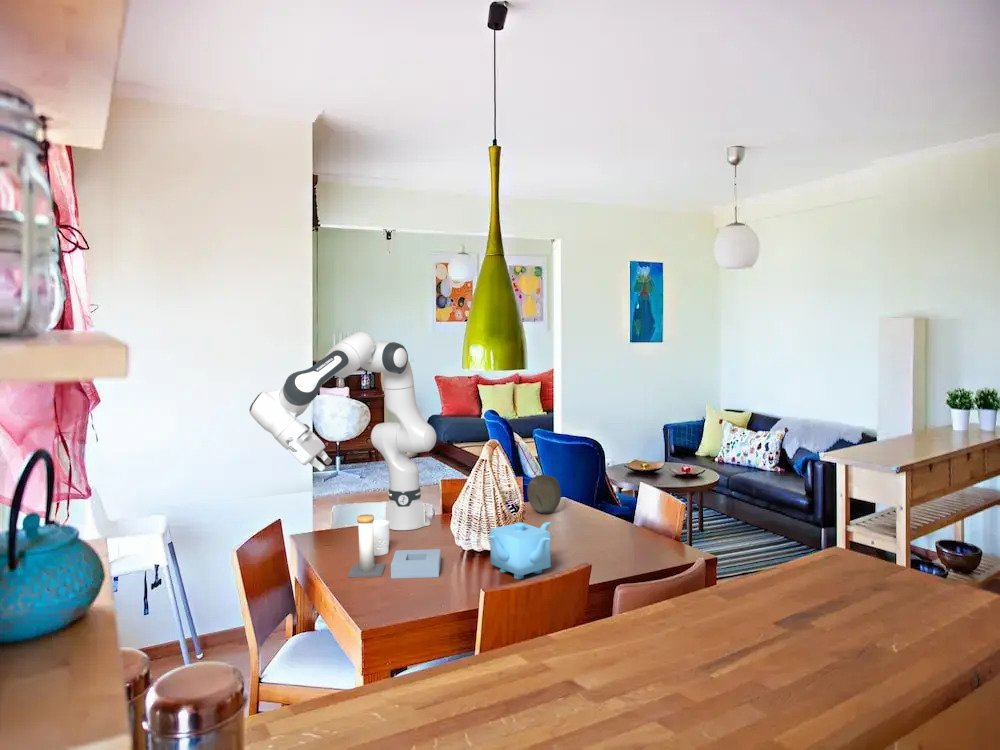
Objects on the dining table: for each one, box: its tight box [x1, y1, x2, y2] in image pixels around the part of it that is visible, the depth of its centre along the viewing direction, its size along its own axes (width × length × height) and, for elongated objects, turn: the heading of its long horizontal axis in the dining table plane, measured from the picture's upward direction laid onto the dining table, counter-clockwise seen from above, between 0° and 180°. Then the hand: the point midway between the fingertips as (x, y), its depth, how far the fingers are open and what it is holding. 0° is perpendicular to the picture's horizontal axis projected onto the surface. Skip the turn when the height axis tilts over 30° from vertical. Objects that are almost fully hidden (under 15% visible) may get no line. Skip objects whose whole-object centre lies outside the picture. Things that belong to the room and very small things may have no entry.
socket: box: [390, 548, 442, 579], centre depth 211 cm, size 14×14×4 cm
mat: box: [347, 562, 387, 578], centre depth 211 cm, size 10×10×1 cm
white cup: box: [373, 519, 391, 557], centre depth 228 cm, size 8×8×10 cm
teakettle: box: [486, 521, 552, 580], centre depth 208 cm, size 19×19×15 cm
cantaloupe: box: [526, 474, 562, 515], centre depth 277 cm, size 14×14×15 cm
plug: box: [356, 514, 375, 572], centre depth 210 cm, size 5×5×16 cm
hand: (327, 466), depth 214 cm, fingers open, 8 cm apart
